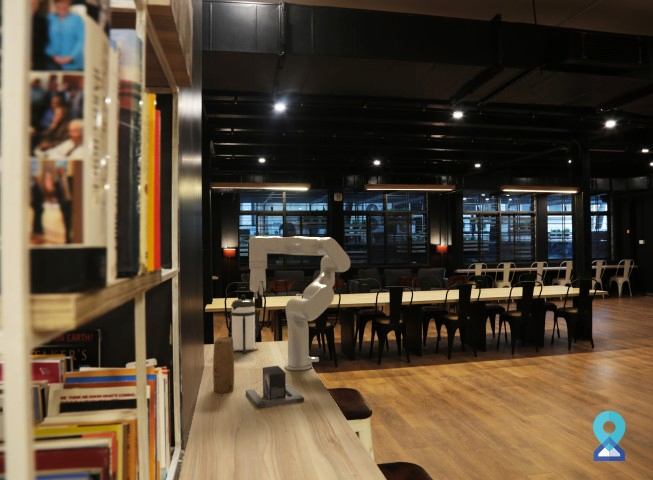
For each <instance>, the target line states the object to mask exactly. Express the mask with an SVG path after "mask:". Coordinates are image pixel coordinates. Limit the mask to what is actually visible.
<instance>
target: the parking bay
mask: <svg viewBox="0 0 653 480" xmlns="http://www.w3.org/2000/svg"><path fill="white" fill-rule="evenodd" d="M245 395H246V396H247V398H249V400H250V402H251V403H252V405H254V407H255V408H256V410H259V409H266V407H267V408H272V406H274V407H279V405H281V406H286V405H293V404H300V403H304V402H305V397H304V396H303V395H302V394H301V393H299V391H297V390H296V389H295V388H294V387H293V386H291V385H290V384H286V397H285V398H278V399H271V400H267V399H266V400H264V399H263V398H262V397H261V396H260V395H259V394H258V392H257V391H256V390H255V389H254V388H253V389H246V390H245Z"/></svg>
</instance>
